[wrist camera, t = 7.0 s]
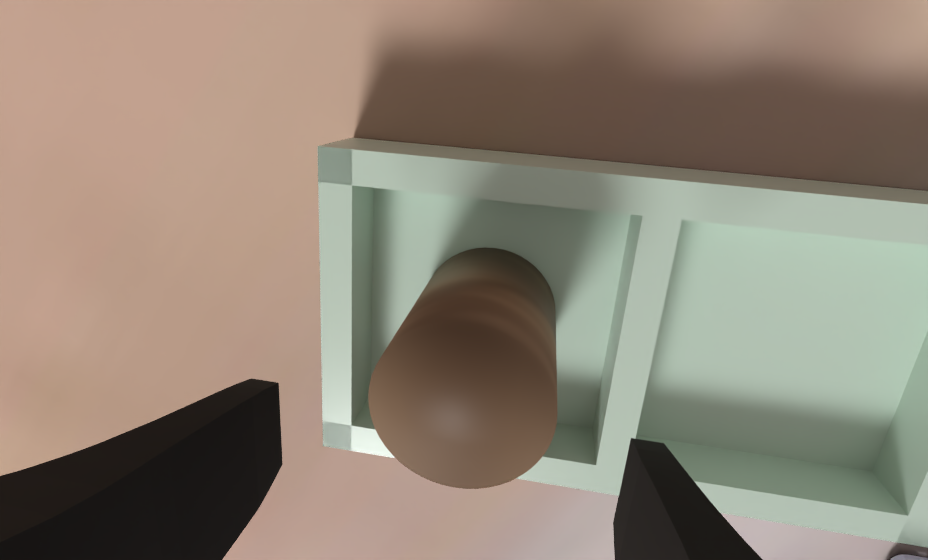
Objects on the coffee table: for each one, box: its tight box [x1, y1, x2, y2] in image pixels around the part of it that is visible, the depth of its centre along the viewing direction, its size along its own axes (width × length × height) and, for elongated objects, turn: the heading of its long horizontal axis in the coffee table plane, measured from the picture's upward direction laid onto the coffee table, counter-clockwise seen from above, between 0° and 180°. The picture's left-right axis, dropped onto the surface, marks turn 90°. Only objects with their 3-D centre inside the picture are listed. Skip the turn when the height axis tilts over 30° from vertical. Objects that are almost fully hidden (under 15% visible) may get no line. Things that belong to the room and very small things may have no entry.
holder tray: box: [318, 138, 928, 548], centre depth 17 cm, size 19×10×3 cm, turn 86°
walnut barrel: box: [368, 247, 558, 489], centre depth 15 cm, size 4×4×6 cm
